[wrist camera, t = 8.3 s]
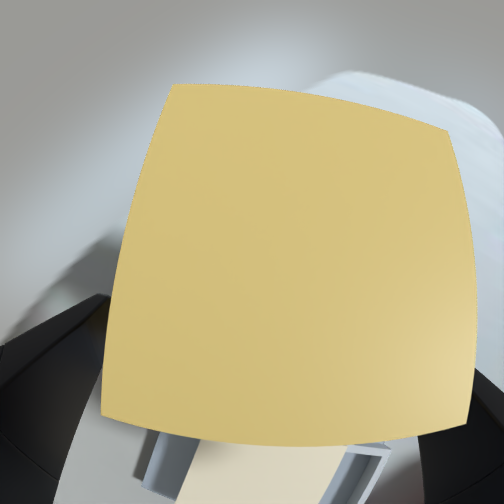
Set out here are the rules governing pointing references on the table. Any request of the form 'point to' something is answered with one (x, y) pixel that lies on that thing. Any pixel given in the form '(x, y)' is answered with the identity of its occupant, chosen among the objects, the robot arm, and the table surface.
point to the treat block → (292, 275)
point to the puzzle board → (262, 472)
